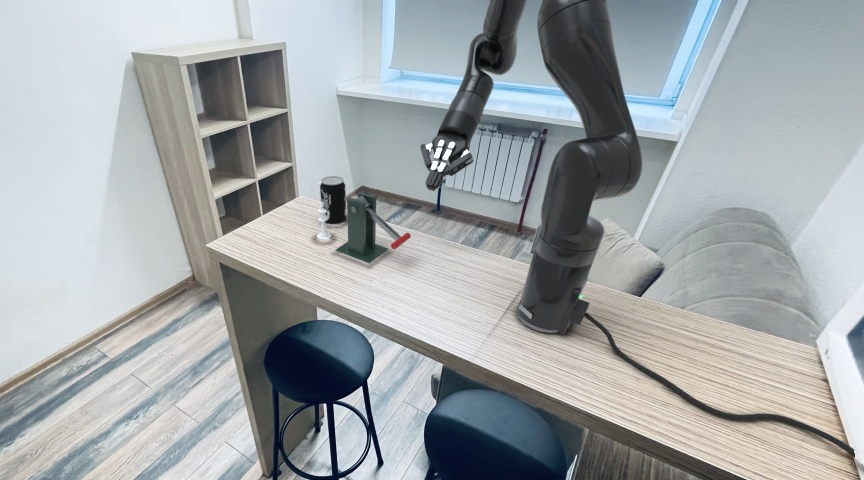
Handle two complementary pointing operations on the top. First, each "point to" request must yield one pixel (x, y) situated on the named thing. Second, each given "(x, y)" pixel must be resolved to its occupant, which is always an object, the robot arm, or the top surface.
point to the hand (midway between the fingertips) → (430, 188)
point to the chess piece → (323, 223)
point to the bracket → (361, 231)
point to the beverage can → (333, 199)
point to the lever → (385, 226)
